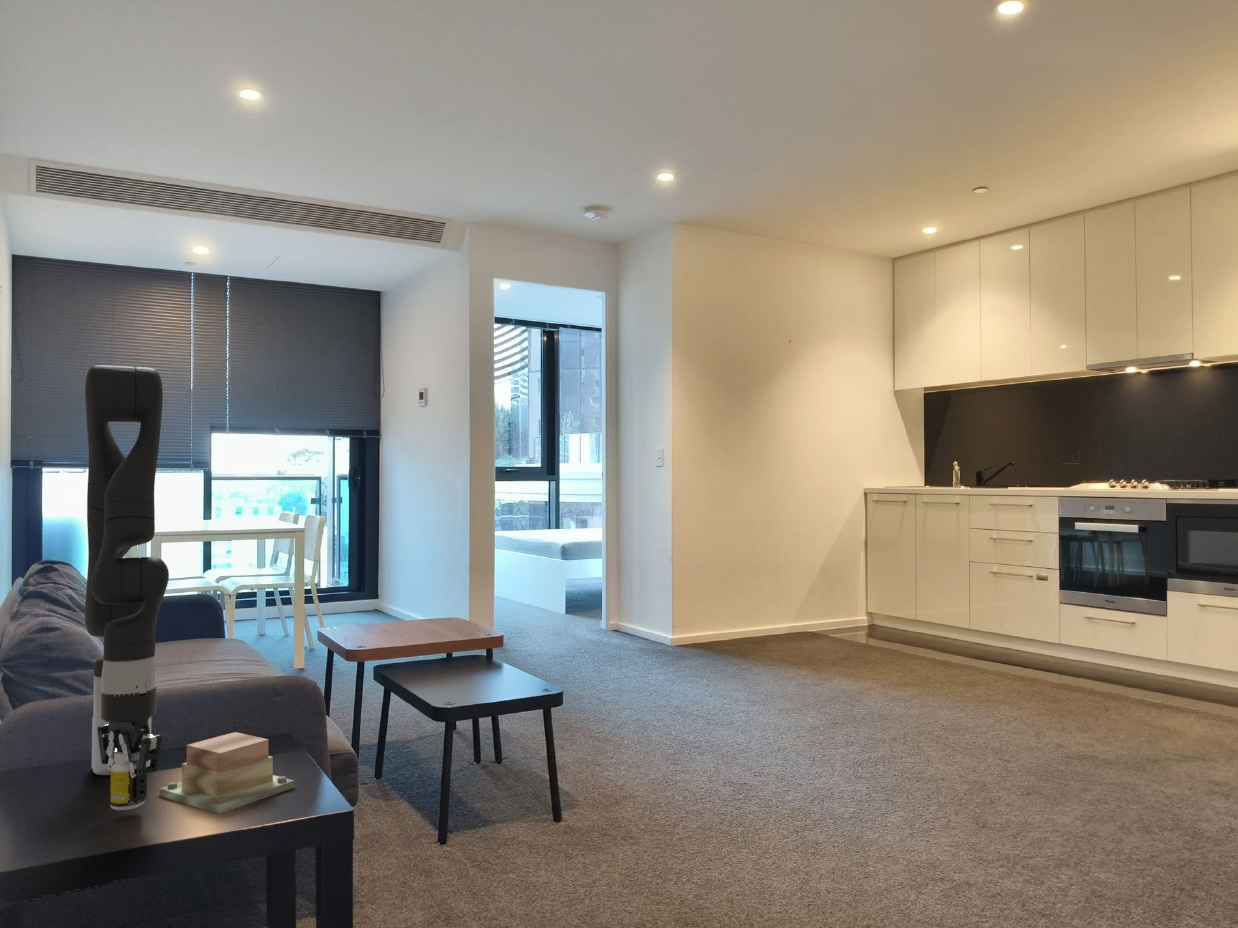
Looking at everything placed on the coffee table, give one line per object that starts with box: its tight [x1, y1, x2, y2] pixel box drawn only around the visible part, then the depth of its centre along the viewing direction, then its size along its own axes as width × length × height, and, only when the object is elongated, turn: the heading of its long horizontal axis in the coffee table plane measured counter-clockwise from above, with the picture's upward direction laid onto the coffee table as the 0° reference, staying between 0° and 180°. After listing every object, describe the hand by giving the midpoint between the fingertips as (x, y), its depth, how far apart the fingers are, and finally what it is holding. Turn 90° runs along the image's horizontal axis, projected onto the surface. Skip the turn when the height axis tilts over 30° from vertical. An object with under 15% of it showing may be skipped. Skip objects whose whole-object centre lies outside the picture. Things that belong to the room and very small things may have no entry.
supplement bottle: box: [109, 751, 146, 811], centre depth 136 cm, size 5×5×8 cm
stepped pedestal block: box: [158, 731, 295, 815], centre depth 147 cm, size 16×14×8 cm
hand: (128, 796), depth 136 cm, fingers closed on supplement bottle, 4 cm apart
